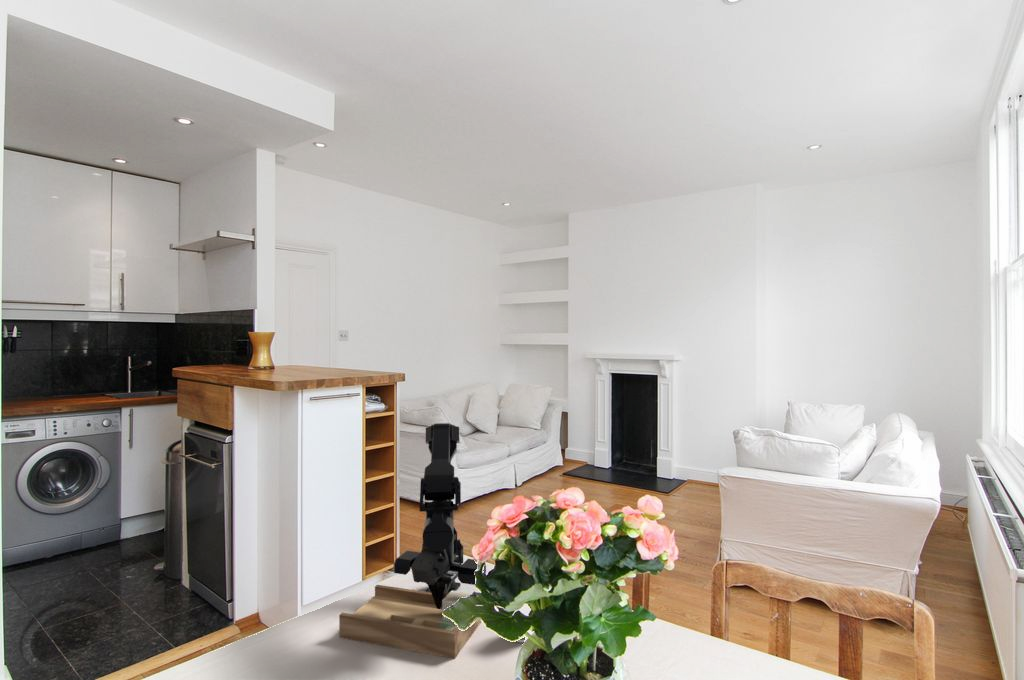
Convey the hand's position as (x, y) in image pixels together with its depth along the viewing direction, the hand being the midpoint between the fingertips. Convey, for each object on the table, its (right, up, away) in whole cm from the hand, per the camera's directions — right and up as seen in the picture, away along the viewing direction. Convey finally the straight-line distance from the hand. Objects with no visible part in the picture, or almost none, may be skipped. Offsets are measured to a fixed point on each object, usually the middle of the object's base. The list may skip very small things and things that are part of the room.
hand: (439, 608), depth 112 cm
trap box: (-6, -4, -1) cm, 7 cm away
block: (+4, -1, -1) cm, 4 cm away
